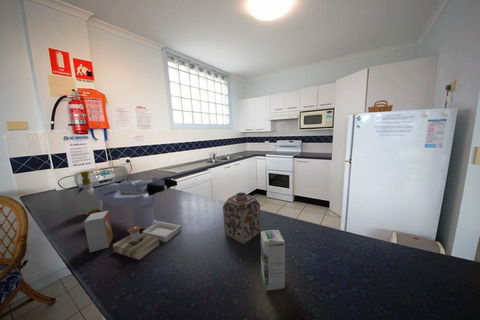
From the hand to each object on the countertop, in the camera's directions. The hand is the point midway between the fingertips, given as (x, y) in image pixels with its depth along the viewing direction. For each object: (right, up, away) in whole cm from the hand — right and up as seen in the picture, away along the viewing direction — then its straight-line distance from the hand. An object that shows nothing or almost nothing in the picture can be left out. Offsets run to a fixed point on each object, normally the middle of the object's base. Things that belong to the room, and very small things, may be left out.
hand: (170, 185), depth 76 cm
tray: (-4, -22, +1) cm, 22 cm away
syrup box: (+41, -24, -27) cm, 54 cm away
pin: (-10, -24, -8) cm, 27 cm away
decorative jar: (+33, -21, -2) cm, 39 cm away
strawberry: (-44, -23, +13) cm, 51 cm away
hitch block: (-10, -24, -8) cm, 27 cm away
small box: (-27, -24, -4) cm, 37 cm away
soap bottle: (-58, -21, +27) cm, 68 cm away
